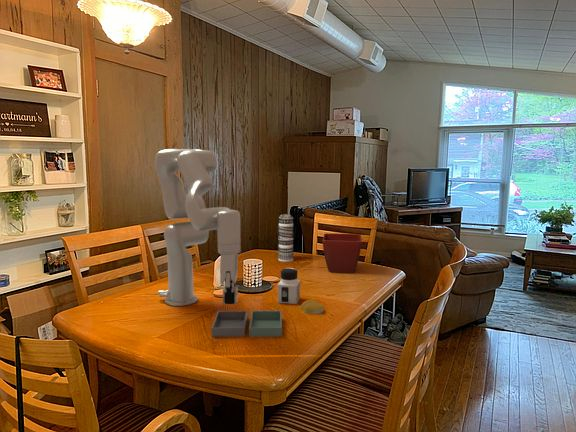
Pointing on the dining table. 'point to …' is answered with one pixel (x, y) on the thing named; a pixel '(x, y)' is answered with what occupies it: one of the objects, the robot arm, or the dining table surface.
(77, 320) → the dining table surface
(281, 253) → the decorative candle
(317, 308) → the bread roll
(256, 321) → the green-grey bin
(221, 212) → the robot arm
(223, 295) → the letter cube
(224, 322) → the charcoal bin
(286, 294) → the container
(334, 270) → the plant pot
